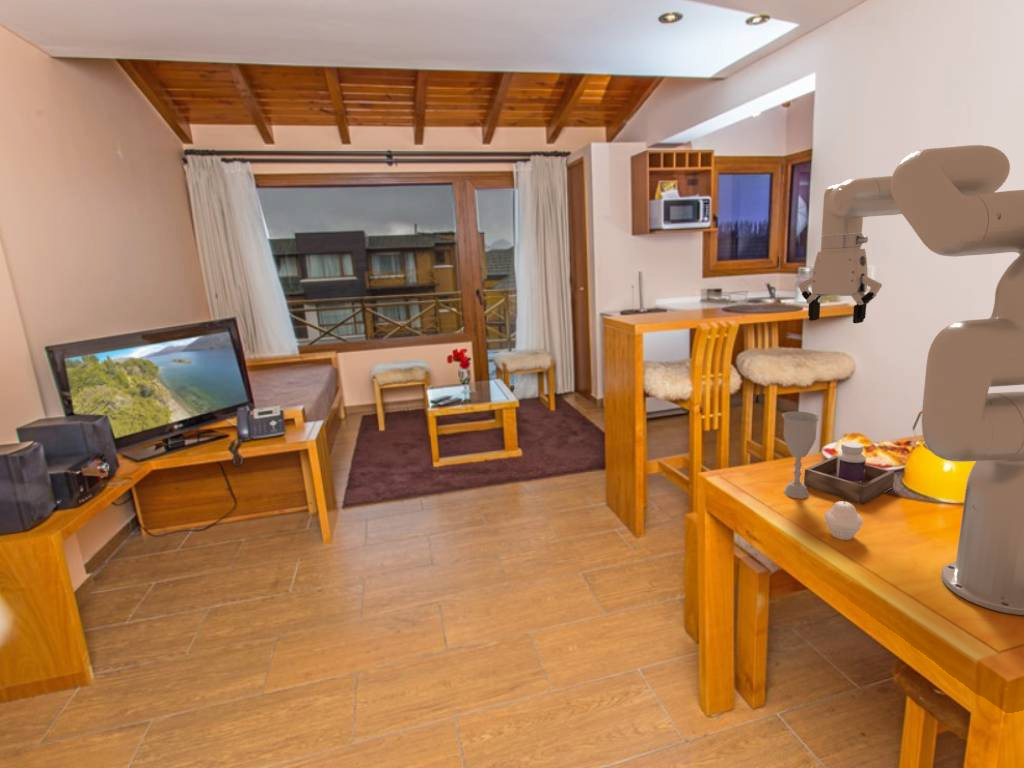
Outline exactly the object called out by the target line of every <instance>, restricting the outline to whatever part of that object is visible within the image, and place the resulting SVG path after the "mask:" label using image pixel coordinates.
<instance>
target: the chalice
mask: <svg viewBox="0 0 1024 768" xmlns="http://www.w3.org/2000/svg"><path fill="white" fill-rule="evenodd" d="M781 417H782V418H783V435H782V436H783V439H784V441H785V444H786V447H787V449H788V451H789V454H790V455H791V456H793V457H795V462H794V463H793V466H794V468H795V469H794V470H793V472H792V474H793V475H794V479H793V480H792V481H790V482H788V483H787V485H786V486H785V489H784V490H783V493H784V495H785V496H788V497H790V498H793V499H794V498H795V499H807V498H809V497H810V493H809V491H808V489H807V487H806V486H805V485H804V482H802V481H801V480H800V477H801V475H802V474H803V473H802V471H801V468H802V467H803V465H802V462H801V459H802V458H805V457H806V456H807V455H808V454H809V452H810V451H811V450H812V448H813V446H814V444H815V442H816V440H817V429H818V428H817V426H818V425H817V424H818V422H819V420H820V419H821V417H820V416H819V415H817V414H815V413H812V412H806V411H787V412H783V413H782V414H781Z"/></svg>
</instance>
